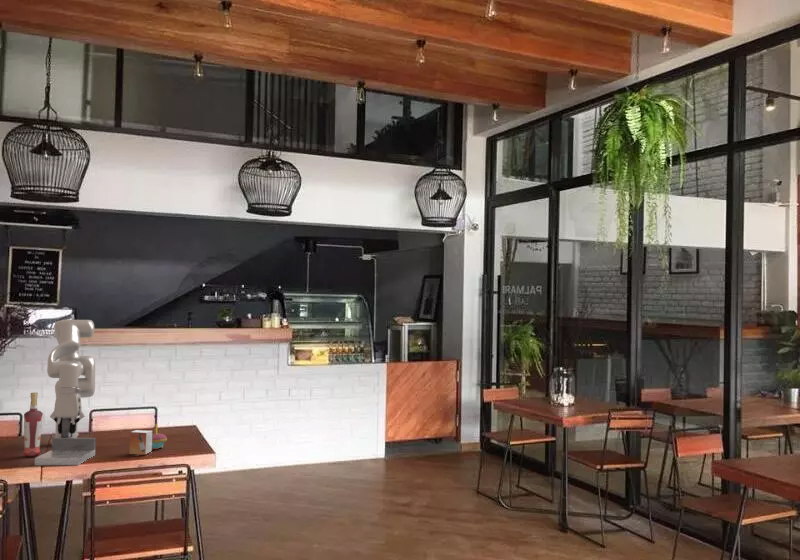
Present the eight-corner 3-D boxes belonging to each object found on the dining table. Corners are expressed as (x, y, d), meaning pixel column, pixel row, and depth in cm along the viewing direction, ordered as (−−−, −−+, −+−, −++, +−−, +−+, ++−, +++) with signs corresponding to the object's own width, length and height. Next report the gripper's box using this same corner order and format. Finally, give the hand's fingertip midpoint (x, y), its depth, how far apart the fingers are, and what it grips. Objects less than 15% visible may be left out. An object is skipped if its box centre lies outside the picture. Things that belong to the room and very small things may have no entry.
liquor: (41, 457, 296) (43, 393, 297) (22, 458, 293) (24, 394, 294) (40, 453, 303) (43, 391, 304) (22, 455, 299) (24, 392, 300)
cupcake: (144, 448, 317) (145, 423, 318) (161, 446, 323) (162, 421, 324) (152, 451, 311) (153, 425, 312) (169, 448, 317) (170, 423, 318)
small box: (129, 455, 303) (129, 431, 303) (135, 452, 308) (136, 429, 309) (145, 456, 302) (146, 432, 302) (151, 453, 307) (152, 430, 308)
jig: (53, 455, 299) (54, 437, 300) (95, 455, 301) (95, 437, 301) (34, 465, 281) (35, 446, 282) (78, 465, 283) (79, 446, 283)
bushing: (63, 436, 293) (64, 417, 294) (73, 436, 293) (74, 417, 294) (59, 438, 289) (59, 419, 289) (69, 438, 289) (70, 419, 289)
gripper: (91, 390, 296) (90, 431, 296) (52, 389, 295) (50, 431, 294) (84, 392, 289) (83, 434, 288) (44, 391, 288) (42, 434, 287)
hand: (66, 432), depth 291 cm, fingers closed on bushing, 4 cm apart
